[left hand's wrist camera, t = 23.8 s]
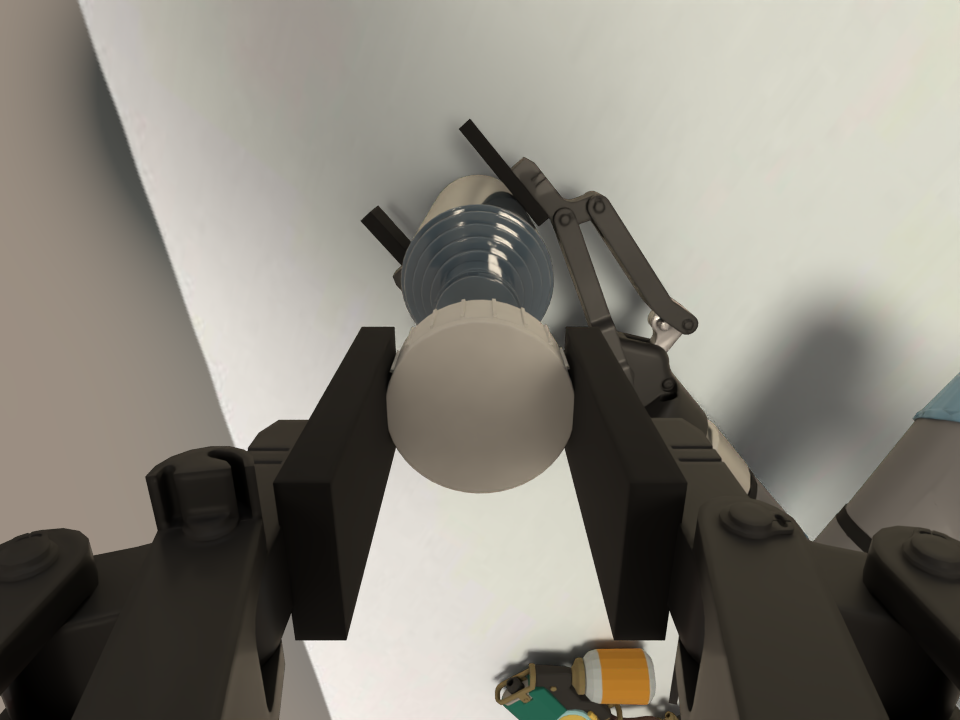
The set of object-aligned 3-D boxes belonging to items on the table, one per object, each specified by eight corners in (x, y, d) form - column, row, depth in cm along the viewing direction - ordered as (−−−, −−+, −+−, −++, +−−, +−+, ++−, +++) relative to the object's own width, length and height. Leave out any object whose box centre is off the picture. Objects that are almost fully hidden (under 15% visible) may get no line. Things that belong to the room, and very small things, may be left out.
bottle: (515, 278, 42) (549, 415, 22) (424, 262, 41) (373, 388, 21) (533, 183, 40) (590, 240, 20) (437, 166, 39) (395, 206, 19)
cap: (603, 356, 14) (618, 384, 13) (506, 485, 16) (509, 525, 14) (451, 262, 13) (447, 280, 12) (362, 406, 15) (347, 440, 13)
